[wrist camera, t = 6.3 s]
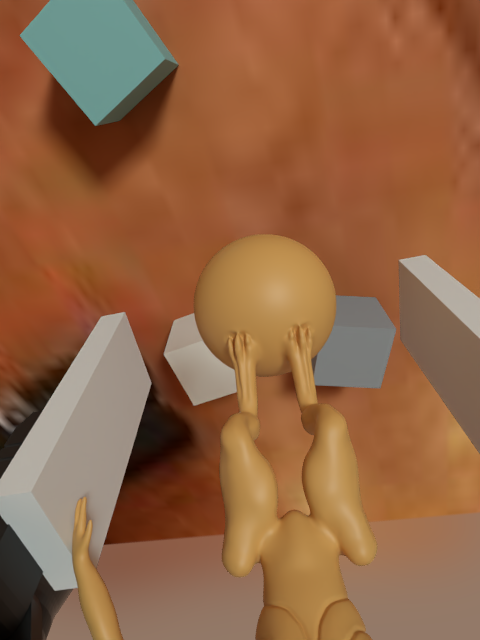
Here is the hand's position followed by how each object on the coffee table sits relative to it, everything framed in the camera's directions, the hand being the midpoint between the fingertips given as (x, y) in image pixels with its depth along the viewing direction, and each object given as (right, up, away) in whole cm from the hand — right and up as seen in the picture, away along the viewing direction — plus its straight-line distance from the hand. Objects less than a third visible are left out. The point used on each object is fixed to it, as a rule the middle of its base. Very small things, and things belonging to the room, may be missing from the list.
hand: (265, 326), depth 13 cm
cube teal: (-8, +16, +12) cm, 21 cm away
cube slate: (+7, 0, +21) cm, 22 cm away
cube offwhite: (-3, -1, +21) cm, 21 cm away
